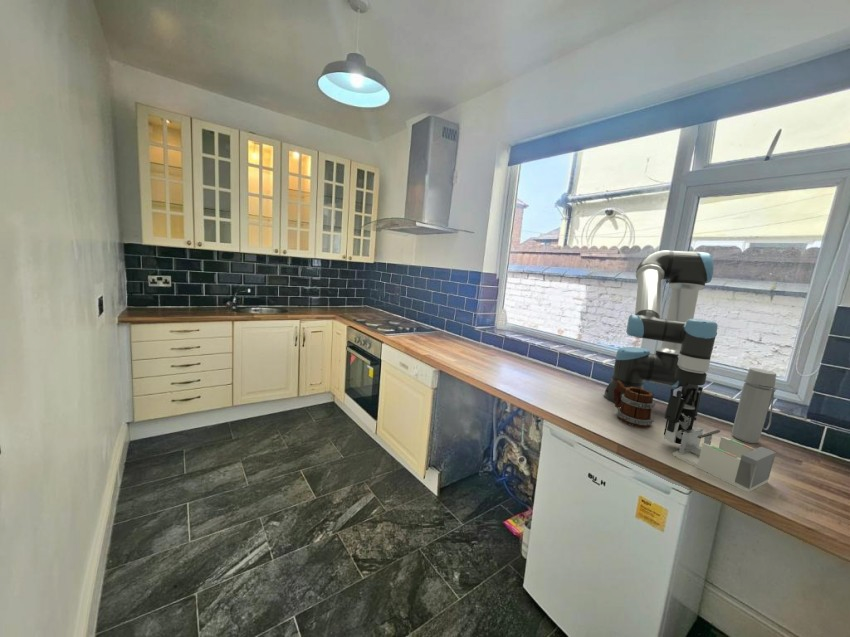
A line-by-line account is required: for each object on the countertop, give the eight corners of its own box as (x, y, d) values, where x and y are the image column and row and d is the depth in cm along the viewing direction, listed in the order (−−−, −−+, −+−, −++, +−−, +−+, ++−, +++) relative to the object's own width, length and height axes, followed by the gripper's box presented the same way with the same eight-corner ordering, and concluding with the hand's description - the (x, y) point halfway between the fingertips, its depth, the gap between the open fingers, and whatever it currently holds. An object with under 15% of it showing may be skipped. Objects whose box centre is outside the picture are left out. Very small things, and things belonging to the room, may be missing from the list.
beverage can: (666, 442, 106) (674, 406, 104) (660, 433, 112) (668, 398, 110) (691, 447, 104) (700, 411, 102) (684, 438, 110) (692, 403, 108)
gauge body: (692, 448, 109) (699, 422, 107) (767, 482, 93) (776, 452, 92) (672, 455, 103) (678, 427, 102) (748, 492, 88) (756, 460, 86)
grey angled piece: (696, 446, 108) (702, 423, 107) (724, 458, 102) (730, 434, 100) (676, 453, 102) (681, 429, 101) (704, 466, 96) (710, 441, 95)
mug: (642, 431, 117) (642, 388, 117) (604, 420, 130) (604, 381, 130) (661, 426, 122) (662, 385, 122) (623, 416, 135) (623, 378, 135)
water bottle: (736, 441, 116) (754, 371, 112) (726, 431, 124) (742, 365, 119) (771, 448, 113) (790, 377, 109) (758, 438, 120) (776, 370, 116)
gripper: (694, 363, 112) (679, 428, 115) (660, 367, 103) (645, 437, 106) (722, 371, 105) (705, 439, 109) (688, 375, 96) (671, 450, 100)
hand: (676, 438), depth 108 cm, fingers closed on beverage can, 7 cm apart
